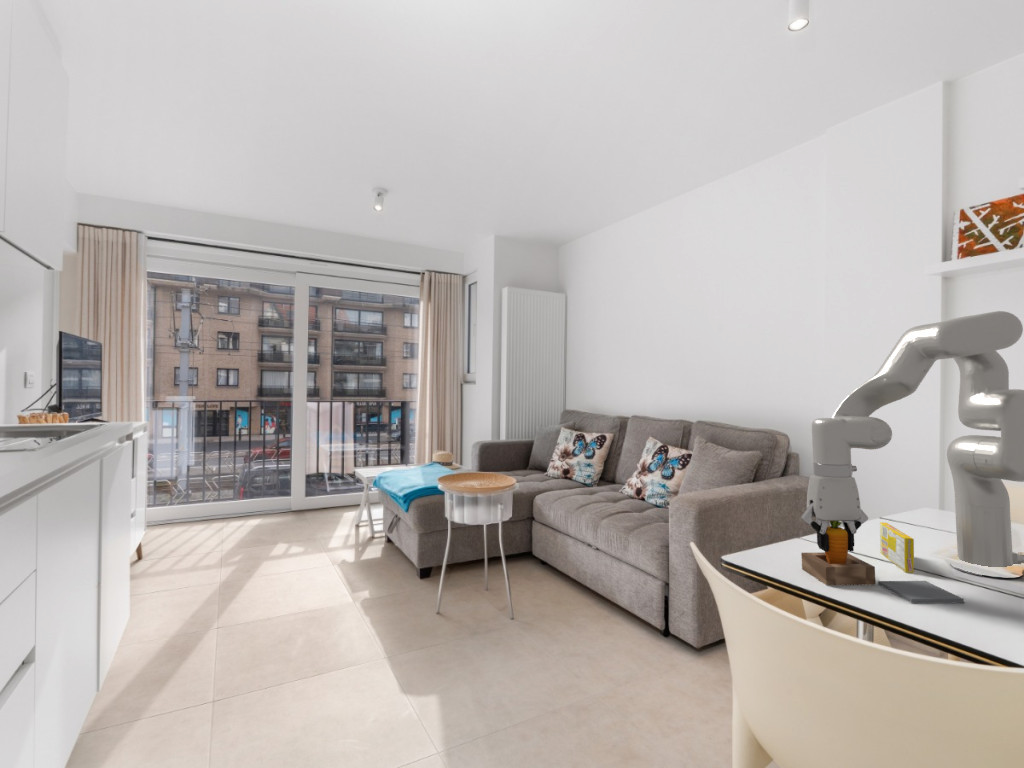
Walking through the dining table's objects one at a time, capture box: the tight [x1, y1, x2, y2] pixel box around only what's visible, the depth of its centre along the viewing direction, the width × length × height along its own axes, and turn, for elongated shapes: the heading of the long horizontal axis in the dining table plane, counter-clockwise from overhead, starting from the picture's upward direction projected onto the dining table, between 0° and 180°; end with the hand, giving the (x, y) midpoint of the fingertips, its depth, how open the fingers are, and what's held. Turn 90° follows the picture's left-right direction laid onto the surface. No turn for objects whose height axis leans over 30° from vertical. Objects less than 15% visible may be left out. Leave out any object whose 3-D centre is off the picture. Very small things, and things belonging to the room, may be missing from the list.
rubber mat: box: [877, 580, 965, 604], centre depth 106 cm, size 10×10×1 cm
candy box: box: [879, 521, 915, 574], centre depth 125 cm, size 16×2×8 cm, turn 161°
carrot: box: [824, 521, 849, 564], centre depth 117 cm, size 5×5×15 cm
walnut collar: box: [800, 551, 877, 586], centre depth 116 cm, size 10×10×4 cm
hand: (835, 548), depth 117 cm, fingers closed on carrot, 4 cm apart
